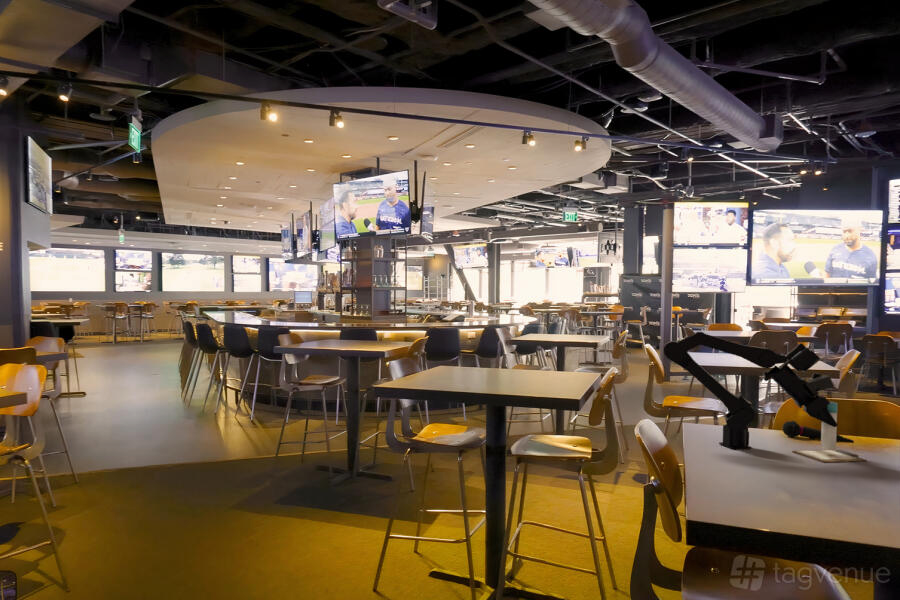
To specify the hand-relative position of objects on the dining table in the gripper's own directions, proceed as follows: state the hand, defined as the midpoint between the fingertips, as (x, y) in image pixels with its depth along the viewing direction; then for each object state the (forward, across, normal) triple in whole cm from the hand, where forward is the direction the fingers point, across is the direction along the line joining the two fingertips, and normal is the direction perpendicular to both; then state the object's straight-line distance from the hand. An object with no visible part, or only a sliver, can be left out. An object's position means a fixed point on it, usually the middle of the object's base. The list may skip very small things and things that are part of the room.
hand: (834, 424), depth 162 cm
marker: (+4, 0, +6) cm, 7 cm away
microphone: (+7, +24, +6) cm, 26 cm away
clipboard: (+6, 0, +7) cm, 9 cm away
